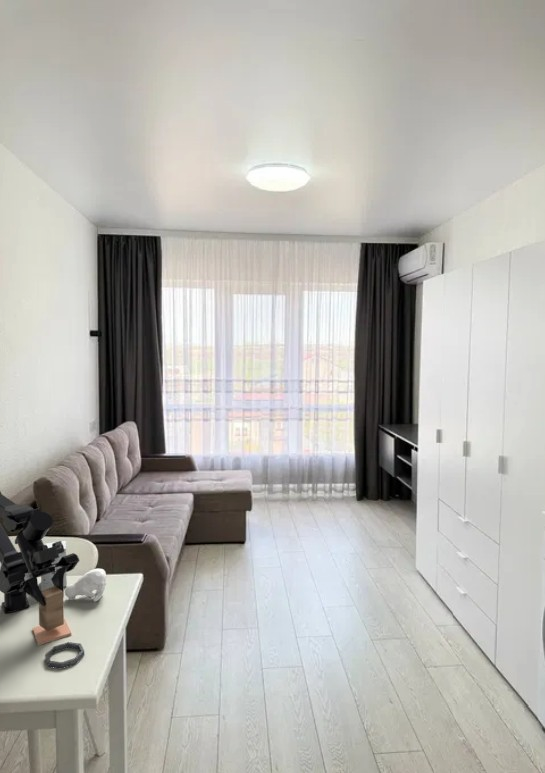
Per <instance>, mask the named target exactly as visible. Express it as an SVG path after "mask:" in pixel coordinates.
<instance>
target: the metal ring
mask: <svg viewBox="0 0 545 773" xmlns="http://www.w3.org/2000/svg"><path fill="white" fill-rule="evenodd" d="M66 648H67V649H71V648H72V649H73V650H78V651H79V653H78V654H76V656H74V657H73V658H70V659H67V660H64V661H55V660H51V657H52V656H54V654H55V653H57V652H60V651H63V650H66ZM84 656H85V649H84V647H83V645H82V643H80V642H79V643H78V642H73V641H70V642H69V641H67V642H64V643H61V644H58V645H54V646H52V648H50V650H49V651H48V652H47V653H45V656H44V660H45V662H46V665H47V668H52V669H59V668H62V669H65V668H68V667H71V666H75V665H77V664H76V663H77V662H78V661H79V662H80V661H81V659H82V658H83V657H84ZM79 662H78V663H79ZM70 665H71V666H70ZM67 666H68V667H67ZM53 667H54V668H53ZM64 667H65V668H64Z"/></svg>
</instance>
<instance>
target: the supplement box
mask: <svg viewBox="0 0 545 773" xmlns="http://www.w3.org/2000/svg"><path fill="white" fill-rule="evenodd" d="M60 541H61V540H60ZM55 542H56V541H54V542H53V541H52V542H46V543H43V544H44V545H47V546H48V548H50V547H52V544H53V543H55ZM61 542H62V544H63V547H64V552H63V553H60V554H59V558H56V559H55V561H54V562H52V563H51V564H52V565H53V564H56V563H58V562H59V561H60V559H61V558H62V557H63V556H66V555H67V540H62V541H61ZM46 571H47V570H46ZM52 577H53V574H52V572H51V573H49V574H46V575H43V576H40V582H41V583H40V590H41V591H43V590H46V589H48V588H51V587H54V584H53V582H52V580H51V579H52ZM67 584H68V582H67V572H66V573H64V579H63V588H65V587H64V586H66V587H67V586H68V585H67Z"/></svg>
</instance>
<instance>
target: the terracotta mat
mask: <svg viewBox="0 0 545 773" xmlns="http://www.w3.org/2000/svg"><path fill="white" fill-rule="evenodd" d="M32 632H33V634H34V637H35V640H36V644H37V646H40V645H42V644H43V645H44V644H45V643H46V644H47V643H49V642H53V641H56V640H59V639H63V638H66V637H69V636H72V631H71V629H70V627H69V625H68V623H67V621H66V619H65V618H64V624H63V625H61V626H58V627H56V628H54V629H52V630H49V631H46V630H45V629H44V628H42V627H41V626H40V625H38V626H34V627H32Z"/></svg>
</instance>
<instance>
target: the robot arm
mask: <svg viewBox="0 0 545 773" xmlns="http://www.w3.org/2000/svg"><path fill="white" fill-rule="evenodd" d="M0 518H2V519H3V521H2V523H3V525H2V523H1V522H0V592H1V593H2V594H3V600H4V601H2V602H1V606H2V610H3V613H4V614H9V613H13V612H16V611H20V610H24V609H28V608H30V603H29V600H28V597H27V595H28V596H30V597H32V598H33V599H34V600H36V602H37V603H38V604H39V603H40V604H41V605H42V606H45V605H46V603H45V599H44V597H43V594H42V592H41V591H42V589H41V587H40V586H39V584H38V578H41V576H43V575H46V574H49V573H51V572H52V574H53V577H52V579H51V580H52V582H53V584H54V586H56V587H57V588H59V589H60V590H62V591H63V598H64V597H65V590H64V587H63V579H64V573H66V574H67V573H68V572H71V571H73V570H74V569H75V567H76V566H77V564H78V563H79V562H80V557H79V556H78V554H76V553H70V554H68V555H67V554H66V556H63V557H62V558H61V559H60V561H59V562H58V563H56V564H53V565H52V564H51V563H52V562H54V561H55V559H56V558H59V554H60V553H63V552H64V547H63V544H62V542H61V540H59V541H54V542H55V543H53V542H52V543H53V544H52V547H50V548H48V546H47V545H44V544H45V543H44V542H43V538H44V537H45V536H46V535H47V533H48V532H49V530H50V529H51V527H52V526H53V524H54V523H53V521H54V520H53V517H52V516H51V515H50V514H49V513H47V512H45V511H42V510H41V508H40V507H39V508H35V509H34V508H33V507H31V506H30V505H27V504H17V503H15V502H13V501H12V500H11V499H9V498H8V497H7V496H5V495H3V493H2V492H1V491H0ZM3 526H4V527H3ZM4 528H5V529H6V530H7V531H8V532H10V533H13V532H18V531H19V532H18V533H17V534H16V537H15V538H14V545H13V542H12V540H11V539H10V537H9V535H8V534H7V532H6V531H5V529H4ZM15 545H18V549H19V551H18V550H17V549H16V548H15ZM46 570H47V571H46Z"/></svg>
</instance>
